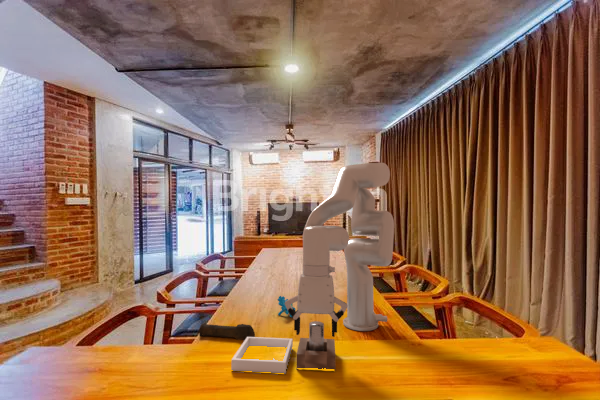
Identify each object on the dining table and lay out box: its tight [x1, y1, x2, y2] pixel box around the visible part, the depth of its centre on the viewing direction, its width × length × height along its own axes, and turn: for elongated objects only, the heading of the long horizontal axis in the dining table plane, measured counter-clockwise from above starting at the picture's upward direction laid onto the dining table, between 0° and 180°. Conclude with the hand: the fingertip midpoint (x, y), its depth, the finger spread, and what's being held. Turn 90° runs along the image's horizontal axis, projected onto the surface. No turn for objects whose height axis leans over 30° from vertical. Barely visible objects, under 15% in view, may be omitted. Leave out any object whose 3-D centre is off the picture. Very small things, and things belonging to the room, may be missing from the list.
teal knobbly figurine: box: [277, 295, 296, 318], centre depth 113 cm, size 11×6×10 cm
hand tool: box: [198, 323, 256, 341], centre depth 92 cm, size 19×4×5 cm, turn 76°
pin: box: [308, 320, 325, 351], centre depth 77 cm, size 4×4×10 cm
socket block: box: [296, 337, 336, 370], centre depth 77 cm, size 10×10×4 cm
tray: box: [230, 336, 294, 375], centre depth 78 cm, size 14×14×3 cm
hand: (315, 334), depth 77 cm, fingers open, 9 cm apart
